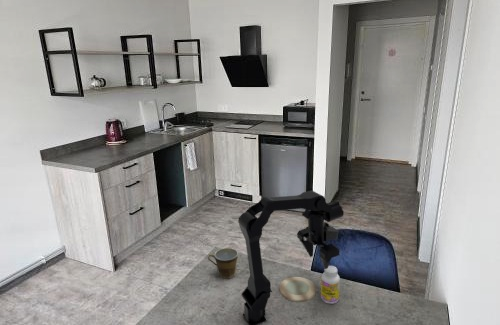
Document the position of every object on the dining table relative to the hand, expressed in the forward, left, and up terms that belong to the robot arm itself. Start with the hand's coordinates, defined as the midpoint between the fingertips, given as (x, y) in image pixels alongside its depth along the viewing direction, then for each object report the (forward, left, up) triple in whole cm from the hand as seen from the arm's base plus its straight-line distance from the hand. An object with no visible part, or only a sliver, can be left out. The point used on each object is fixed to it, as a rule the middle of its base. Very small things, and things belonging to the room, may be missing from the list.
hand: (318, 262), depth 123 cm
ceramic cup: (-27, +30, -15) cm, 43 cm away
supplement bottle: (+3, -4, -15) cm, 15 cm away
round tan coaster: (-5, +6, -15) cm, 17 cm away
